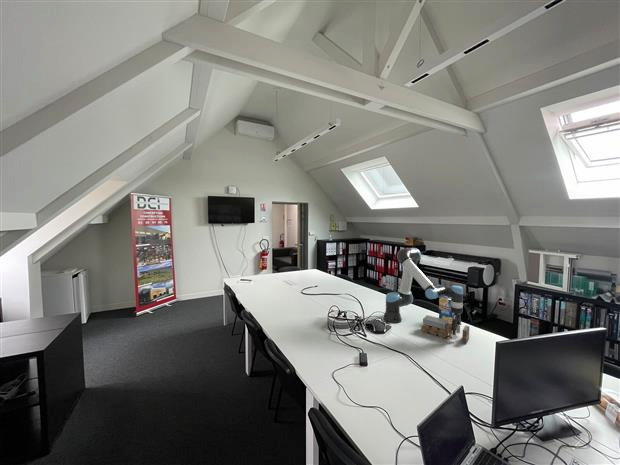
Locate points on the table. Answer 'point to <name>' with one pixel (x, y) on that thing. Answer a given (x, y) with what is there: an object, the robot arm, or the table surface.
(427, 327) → the bed rollers
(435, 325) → the slab
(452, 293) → the robot arm
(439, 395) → the table surface
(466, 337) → the cradle and stop
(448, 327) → the roller
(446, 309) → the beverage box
